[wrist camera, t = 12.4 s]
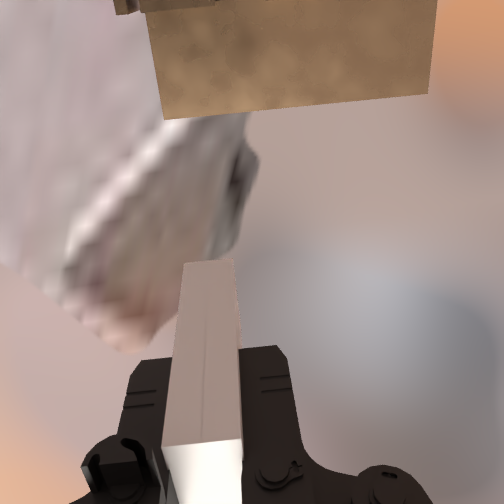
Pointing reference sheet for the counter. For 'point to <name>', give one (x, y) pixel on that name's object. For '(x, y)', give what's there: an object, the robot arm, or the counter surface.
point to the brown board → (284, 52)
